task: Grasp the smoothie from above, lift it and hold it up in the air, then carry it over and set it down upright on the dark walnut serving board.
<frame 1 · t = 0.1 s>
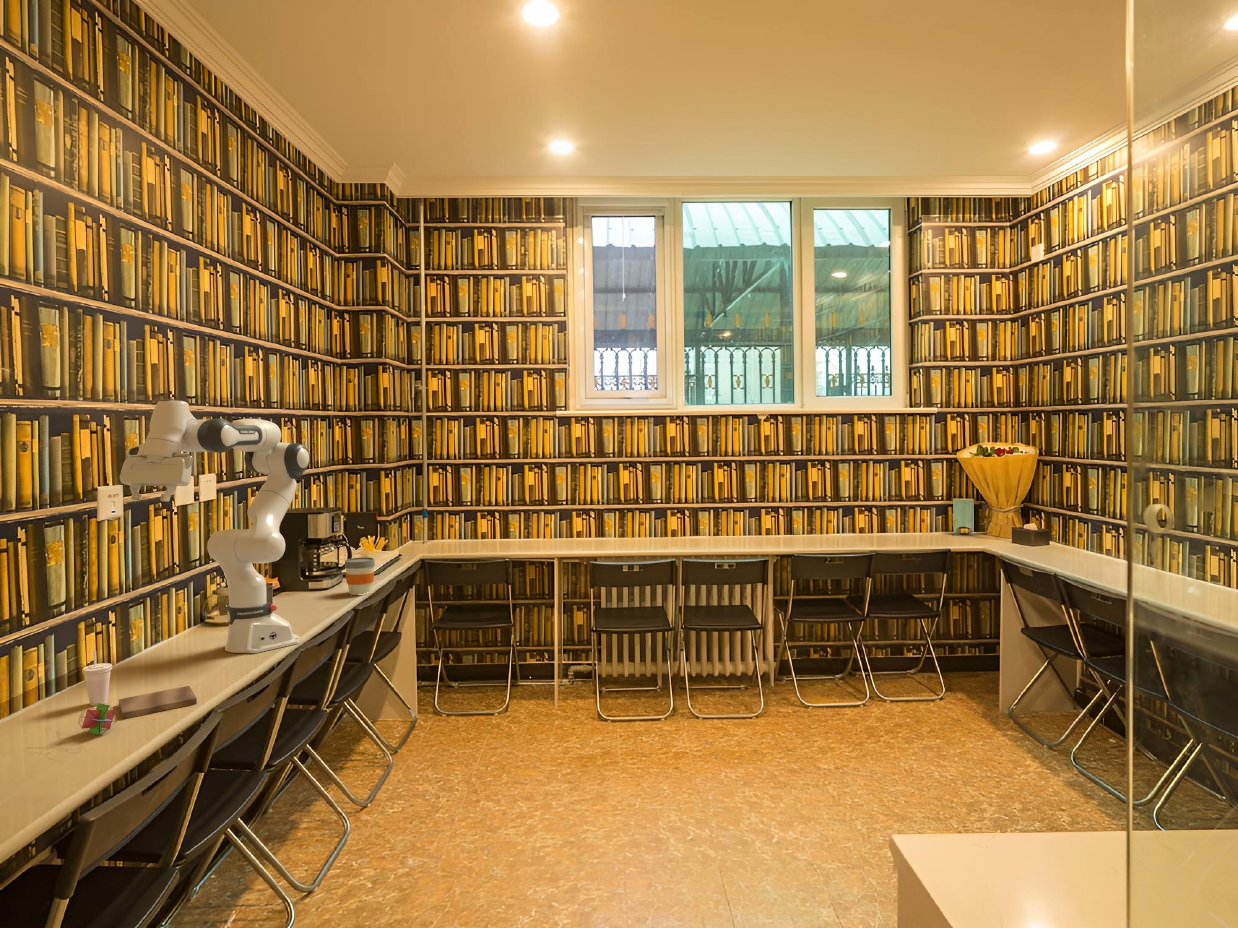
hand: (149, 500, 201), 52 cm above the table, tool tilted 20°, fingers open, 8 cm apart
smoothie: (98, 703, 190), on the table
reusable coffee cup: (360, 593, 319), on the table
geometric puzzle: (99, 733, 172), on the table
serving board: (157, 704, 189), on the table
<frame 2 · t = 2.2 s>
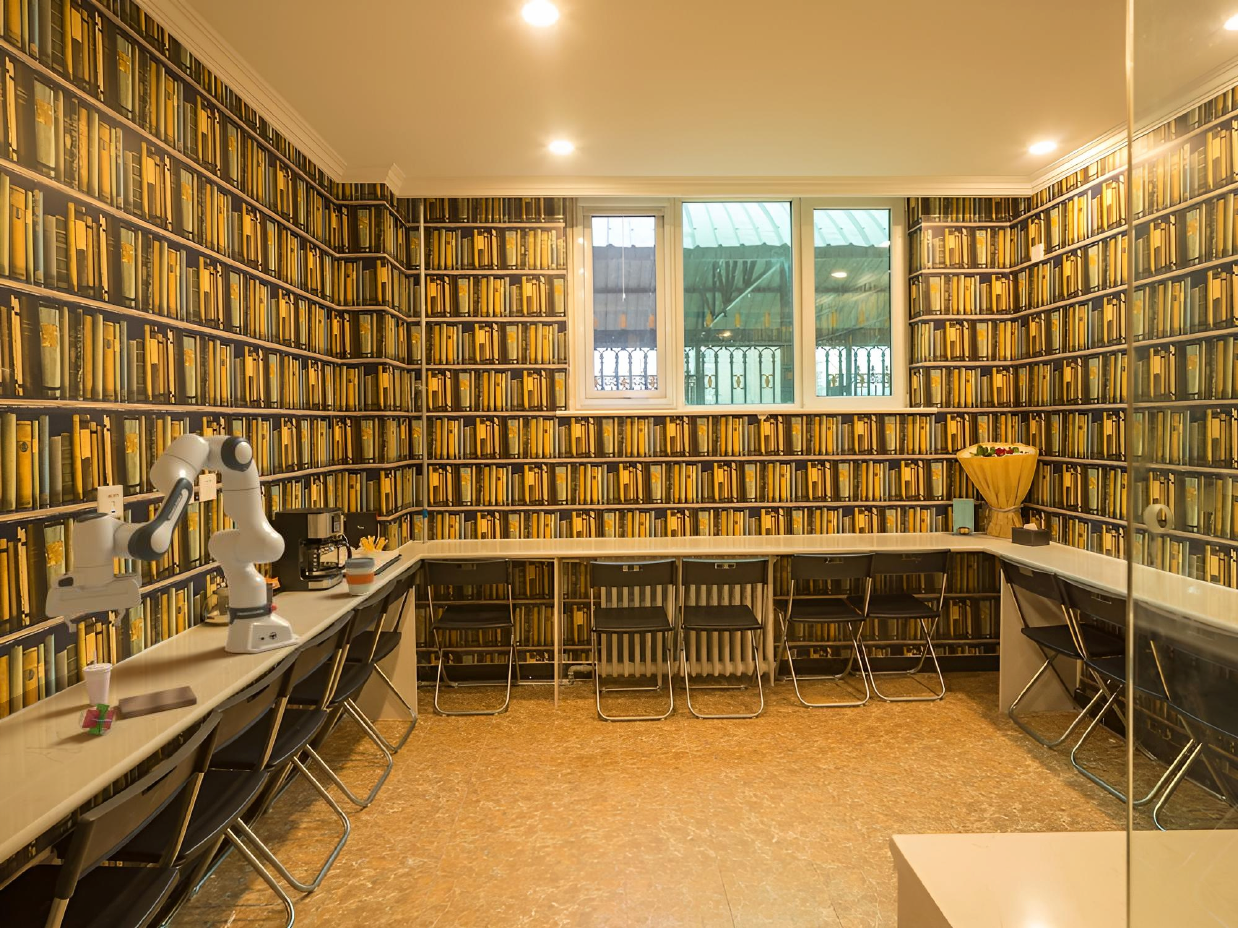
hand: (95, 628, 189), 20 cm above the table, tool pointing down, fingers open, 8 cm apart
nothing on the table moved.
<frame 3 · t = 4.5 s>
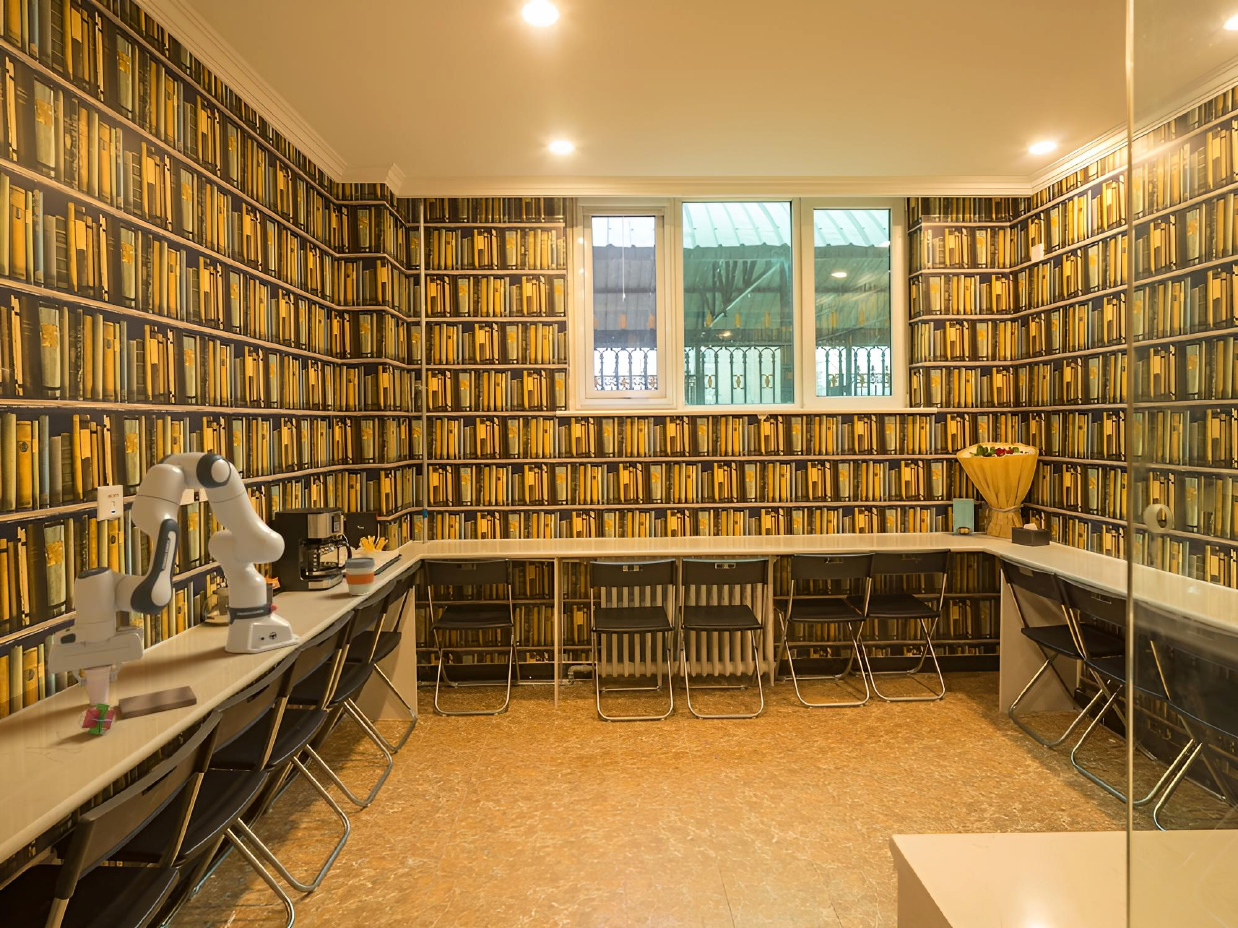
hand: (97, 682, 190), 5 cm above the table, tool pointing down, fingers closed on smoothie, 5 cm apart
smoothie: (98, 703, 190), on the table, touching gripper
everything else where it was.
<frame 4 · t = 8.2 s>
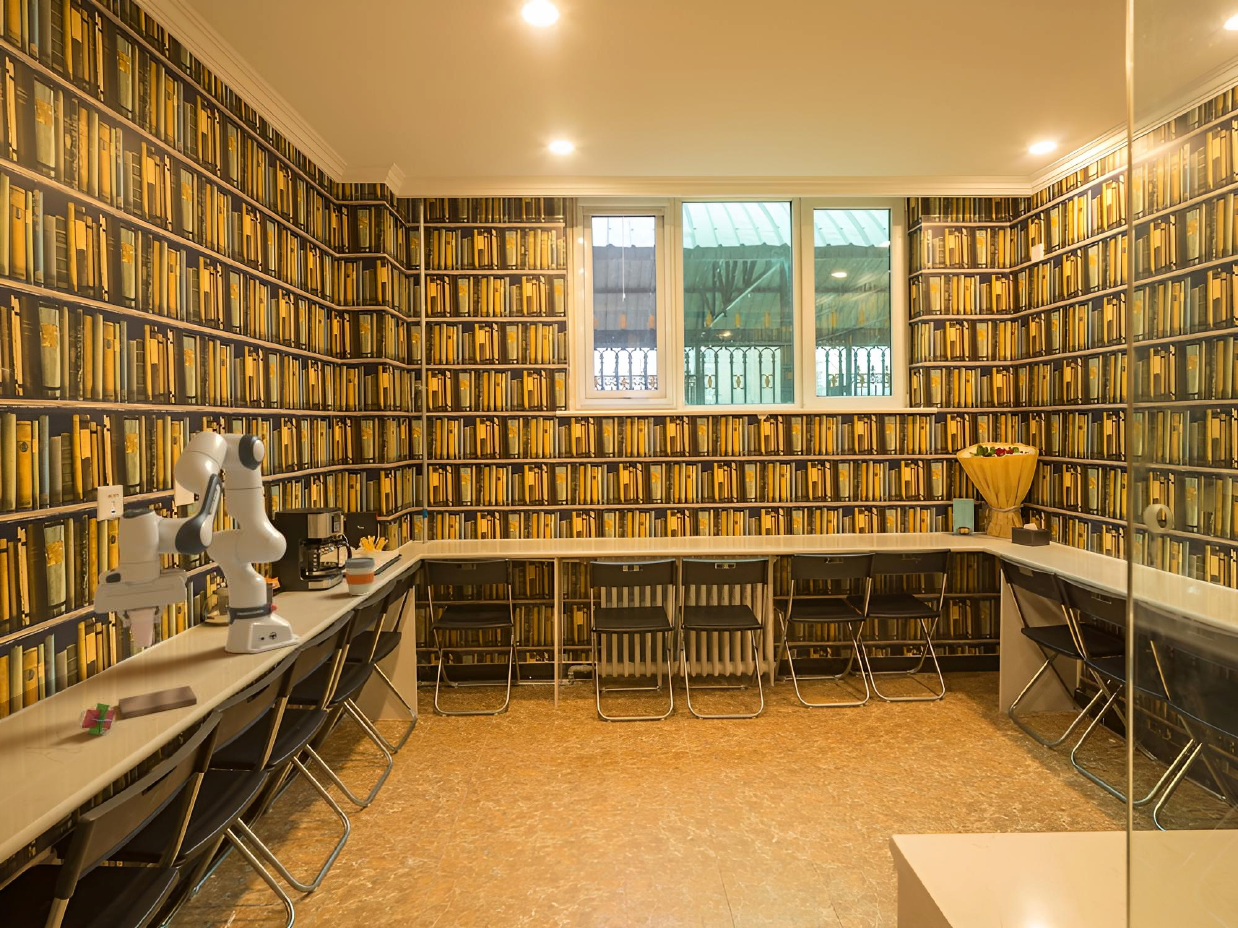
hand: (142, 624, 189), 21 cm above the table, tool pointing down, fingers closed on smoothie, 5 cm apart
smoothie: (143, 645, 189), point 15 cm above the table, touching gripper
everything else where it was.
when the fingers open (8 cm above the table, at t = 11.9 s): smoothie drops 2 cm, resting on serving board.
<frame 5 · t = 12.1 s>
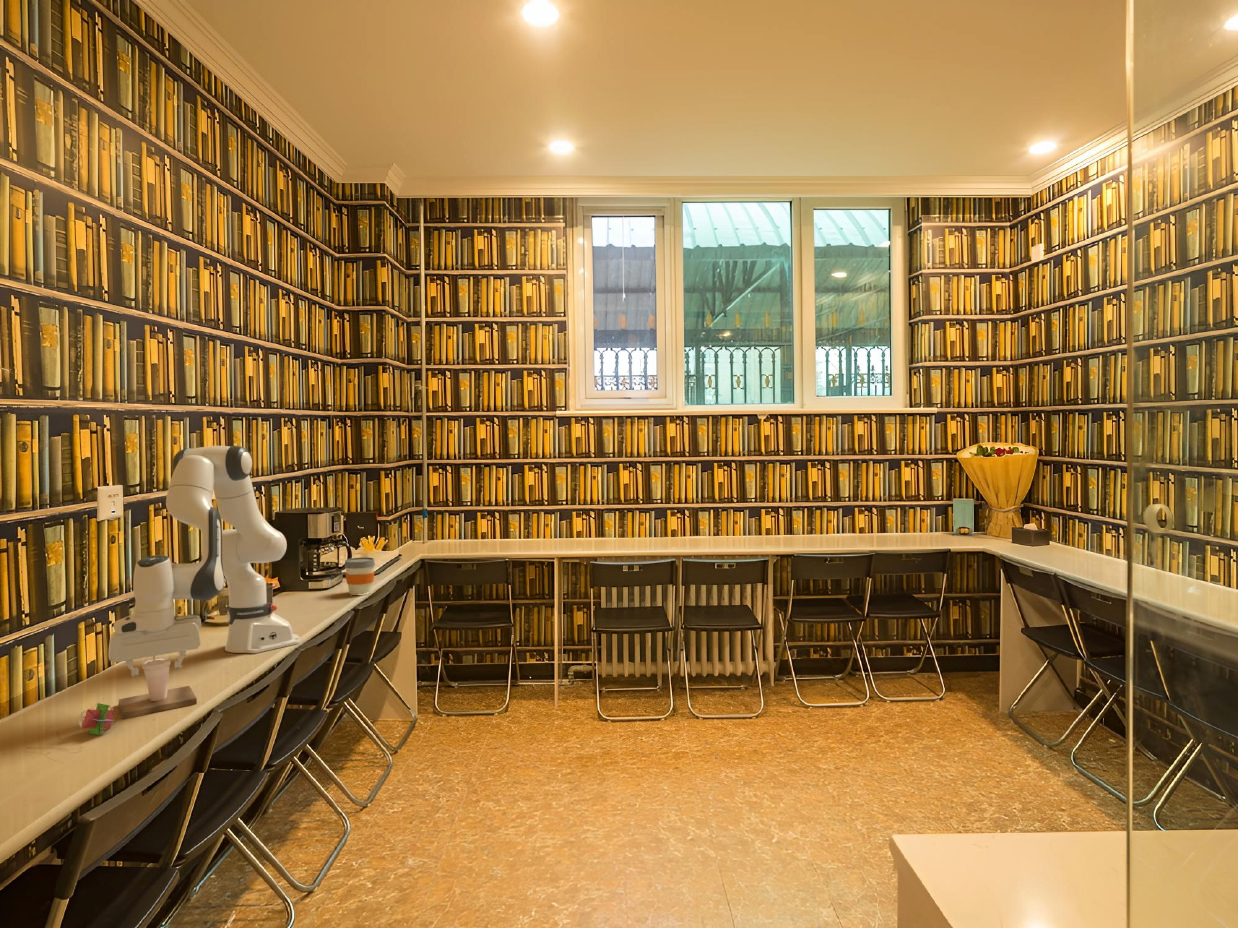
hand: (156, 671, 189), 9 cm above the table, tool pointing down, fingers open, 8 cm apart
smoothie: (158, 698, 189), point 1 cm above the table, touching serving board
everything else where it was.
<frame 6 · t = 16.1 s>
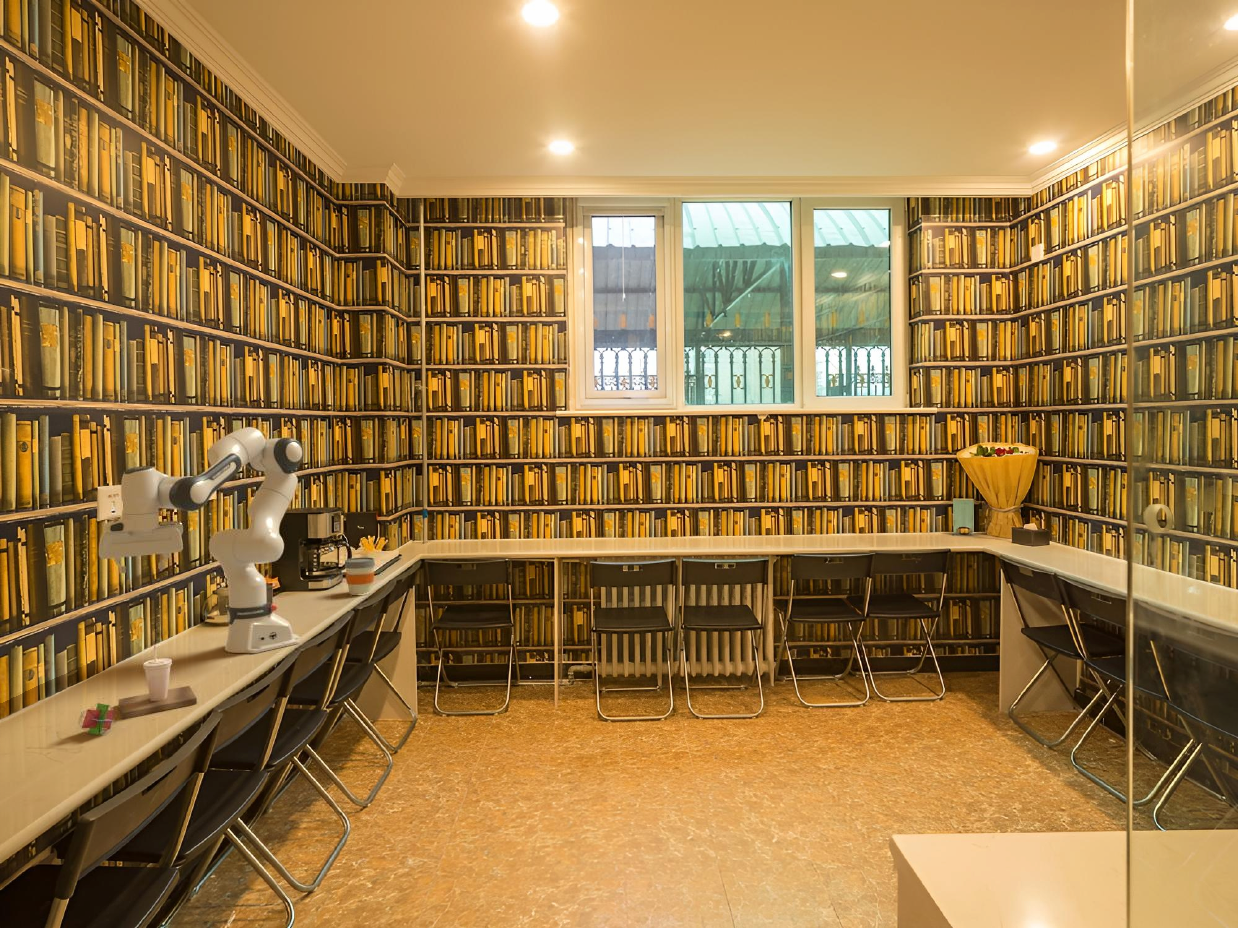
hand: (142, 570, 209), 31 cm above the table, tool pointing down, fingers open, 8 cm apart
nothing on the table moved.
at the end: smoothie inside the target area on the serving board (0.3 cm from its centre), point 1.3 cm above the serving board's base; smoothie tilted 0°; the gripper is holding nothing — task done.
